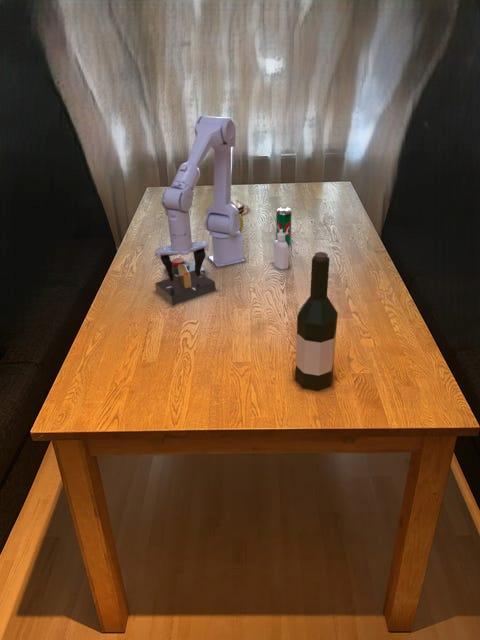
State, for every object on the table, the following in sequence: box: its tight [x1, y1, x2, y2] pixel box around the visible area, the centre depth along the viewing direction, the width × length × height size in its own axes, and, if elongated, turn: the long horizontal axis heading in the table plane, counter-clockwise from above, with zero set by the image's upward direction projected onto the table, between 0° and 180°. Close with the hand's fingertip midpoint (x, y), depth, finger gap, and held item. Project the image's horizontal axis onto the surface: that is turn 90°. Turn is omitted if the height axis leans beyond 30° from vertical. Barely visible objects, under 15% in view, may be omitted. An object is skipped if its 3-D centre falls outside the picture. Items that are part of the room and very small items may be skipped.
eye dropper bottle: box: [273, 229, 289, 270], centre depth 161 cm, size 4×6×12 cm
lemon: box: [239, 214, 244, 233], centre depth 185 cm, size 6×6×8 cm
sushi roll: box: [212, 199, 248, 216], centre depth 206 cm, size 15×15×4 cm
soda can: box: [275, 206, 293, 246], centre depth 176 cm, size 5×5×12 cm
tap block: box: [154, 270, 216, 307], centre depth 151 cm, size 14×12×3 cm
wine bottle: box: [294, 251, 339, 392], centre depth 109 cm, size 8×8×30 cm
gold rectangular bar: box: [178, 264, 191, 288], centre depth 150 cm, size 8×2×4 cm, turn 19°
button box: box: [165, 260, 206, 277], centre depth 162 cm, size 10×8×3 cm
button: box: [171, 257, 185, 268], centre depth 160 cm, size 4×4×2 cm
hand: (184, 276), depth 150 cm, fingers open, 7 cm apart
